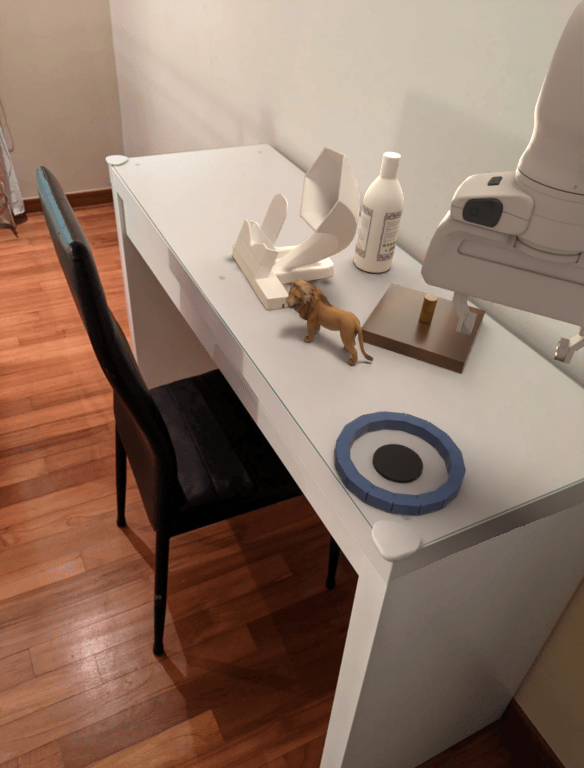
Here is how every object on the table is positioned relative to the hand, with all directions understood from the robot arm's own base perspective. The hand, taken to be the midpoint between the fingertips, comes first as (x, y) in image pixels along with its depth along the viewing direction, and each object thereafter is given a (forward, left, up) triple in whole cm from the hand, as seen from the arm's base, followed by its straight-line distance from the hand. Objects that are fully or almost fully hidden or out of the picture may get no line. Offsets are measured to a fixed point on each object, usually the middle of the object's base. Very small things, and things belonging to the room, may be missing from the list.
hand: (511, 344), depth 60 cm
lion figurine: (+24, -17, -20) cm, 36 cm away
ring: (+7, +1, -20) cm, 21 cm away
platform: (+12, -29, -20) cm, 37 cm away
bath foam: (+26, -45, -20) cm, 56 cm away
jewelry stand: (+35, -31, -20) cm, 50 cm away
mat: (+7, +1, -20) cm, 21 cm away
